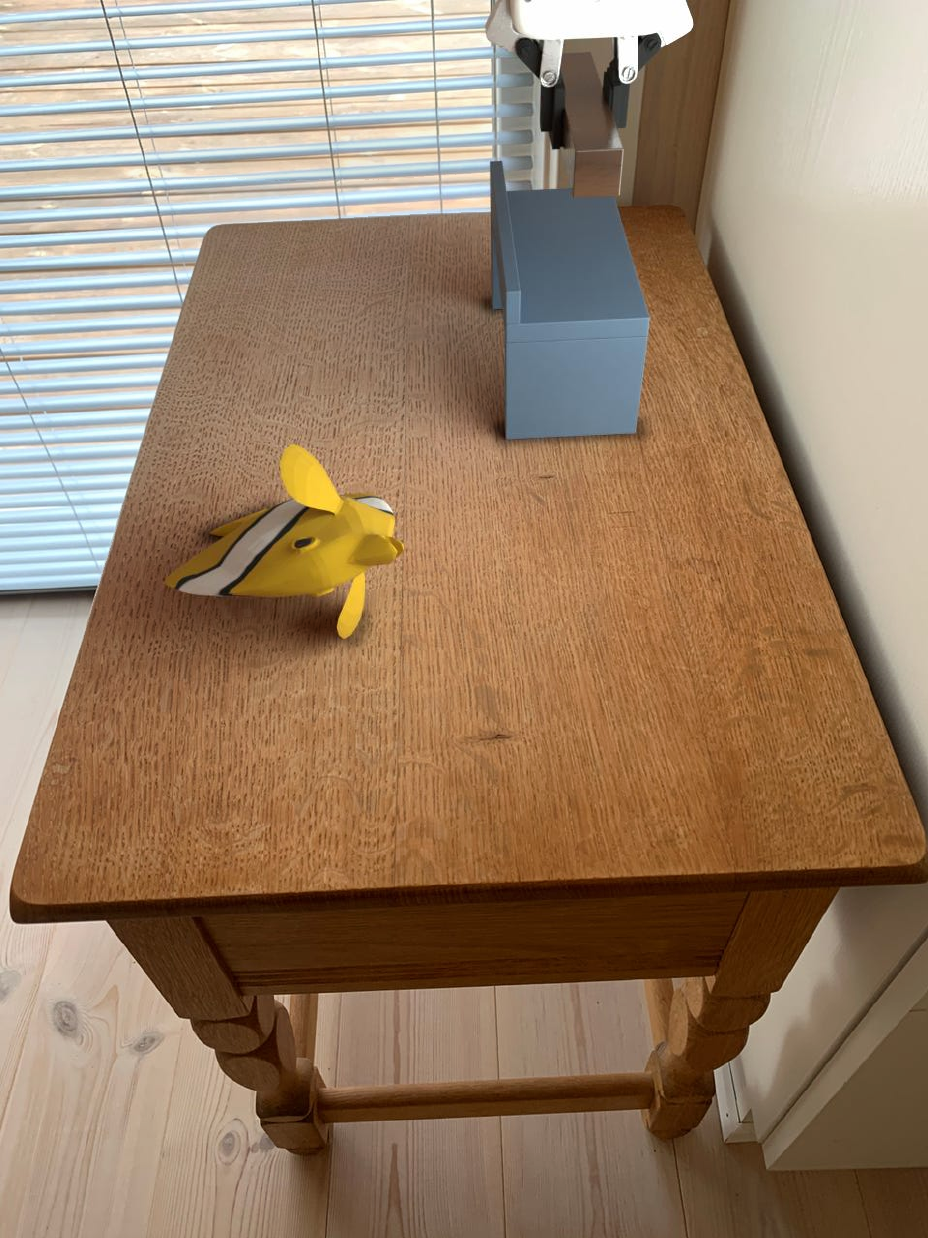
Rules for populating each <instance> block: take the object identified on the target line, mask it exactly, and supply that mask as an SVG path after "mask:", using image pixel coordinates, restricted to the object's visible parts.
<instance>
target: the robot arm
mask: <svg viewBox="0 0 928 1238" xmlns="http://www.w3.org/2000/svg"><path fill="white" fill-rule="evenodd" d="M486 20H487V21H486V23H485V25H484V31H485V36H486V39H487V41H489V42H490V43H492V44H493V45H495V46H497V47H499V48H500V49H503V50H505V51H507V52H508V53H511V54H513V55H515V56H517V58H518V59H519V60H520V61H521V62H522V63H523V64H524V65H525V66H526V67H527V69H529V70H530V71H531V73H532V74H533V75H534V76H535V77H536V78H537V79H538V80H539V82H540V98H539V102H540V103H539V129H540V132H541V133H548V136H549V142H550V146H551V150H553V151H554V150H555V151H556V150H561V147H562V141H563V118H564V108H565V94H566V91H565V85H564V82H563V78H562V73H561V69H560V62H561V54H562V52H563V47H564V46H563V45H564V40H578V39H579V40H580V39H599V38H600V39H601V38H602V39H603V38H612V60H610V62H609V64H608V65H609V66H607V67H606V71H604V72H603V82H602V86H603V90H604V93H605V95H606V98H607V101H608V104H609V107H610V110H611V113H612V116H613V119H614V122H615V124H616V127H617V130H618V131H619V129H626V128H627V122H628V121H627V120H628V112H629V111H628V110H629V100H630V89H631V83H633V82H634V81H635V80H636V79H637V77H638V73H639V72H640V71H641V69H643V68H644V66H646V65H647V64H648V62H650V61H651V60H652V58H653V57H654V56H655V55H656V54H657V53H658V52H659V51H660V49H662V48H663V47H665V46H668V45H670V44H672V43H673V42H674V41H676V40H678V39H680V38H681V37H683V36H685V35H686V34H688V33H689V32H690V31H692V28H693V26H694V21H693V17H692V15H691V12H690V9H689V6H688V3H687V1H686V0H496V1H495V3H494V5H493V7H492V10H491V11H490V14H489V16H488V18H487V19H486Z"/></svg>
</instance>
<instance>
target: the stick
mask: <svg viewBox="0 0 928 1238" xmlns="http://www.w3.org/2000/svg"><path fill="white" fill-rule="evenodd" d="M560 69H561V73H562V78H563V82H564V85H565V91H566V94H565V108H564V118H563V141H562V147H560V151H561V155H562V158H563V163H564V166H565V170H566V174H567V179H568V183H569V188H571V191H572V195H573V198H581V197H602V196H614V197H618V196H620V195H621V187H622V186H621V185H622V174H623V162H624V153H625V152H624V151H625V148H624V146H623V142H622V140H621V136H620V134H619V129H618V130H617V127H616V124H615V122H614V119H613V116H612V113H611V110H610V107H609V104H608V101H607V98H606V95H605V93H604V90H603V82H602V81H601V78H600V75H599V71H598V69H597V66H596V62H595V60H594V57H593V53H592V52H591V51H587V52H586V51H585V52H583V51H582V52H566V53H562V54H561V62H560Z"/></svg>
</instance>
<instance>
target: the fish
mask: <svg viewBox="0 0 928 1238" xmlns="http://www.w3.org/2000/svg"><path fill="white" fill-rule="evenodd" d="M279 468H280V477H281V480H282V483H283V485H284V487H285V490H286V492H287V494H288V495H289V496H290V497H291V498H290V499H288V500H285V501H283V502H280V503H278V504H275V505H272V506H270V507H268V508H265V509H261V510H258V511H256V512H253V513H251V514H248V515H246V516H243V517H241V518H238V519H236V520H233V521H230V522H228V523H226V524H223V525H221V526H218V527H216V528H215V529H213V530H211V531H210V532H209V533H208V534H209V535H212V536H219V537H222V538H220V539H218V540H217V541H215V542H214V543H211V544H210V545H209V546H208V547H206V548H205V549H204V550H202V551H200V552H199V553H198V554H196V555H195V556H193V557H192V558H191V559H189V560H188V561H187V562H185V563H184V564H182V565H181V566H180V567H178V568H176V569H175V570H174V571H173V572H171V573H170V574H169V575H168V576H167V577H166V578H165V581H164V584H165V585H166V586H167V587H169V588H171V589H173V590H176V591H180V592H182V593H187V594H191V595H192V594H193V595H198V596H199V595H200V596H211V597H213V596H214V597H256V598H268V599H269V598H270V599H274V598H284V597H293V596H302V595H303V596H304V595H306V596H307V595H308V597H310V598H318V597H321V596H324V595H327V594H329V593H331V592H334V591H335V588H336V587H338V586H341V585H343V584H345V583H348V582H350V581H352V580H353V581H352V583H351V586H350V589H349V592H348V594H347V597H346V600H345V602H344V605H343V608H342V610H341V612H340V614H339V617H338V620H337V625H336V629H337V633H338V636H340V638H342V639H343V640H345V639H347V638H348V637H350V636H351V635H352V634H353V632H354V631H355V629H356V628H357V627H358V625H359V622H360V620H361V618H362V614H363V610H364V605H365V598H366V597H365V595H366V594H365V593H366V575H365V571H367V570H368V569H370V568H372V567H375V566H383V565H390V564H392V563H393V562H394V561H395V560H396V558H398V557H400V556H401V555H403V553H404V550H405V546H404V543H403V542H401V541H400V540H399V539H397V538H395V537H393V535H394V530H395V529H394V528H395V523H396V518H395V514H394V512H393V510H392V508H391V507H390V505H389V504H388V503H387V502H386V501H385V500H384V499H383V498H381V497H380V496H378V495H376V494H373V493H370V492H369V493H367V492H359V493H357V492H355V493H348V494H340V495H339V493H338V492H337V490H336V488H335V486H334V484H333V482H332V480H331V478H330V477H329V476H328V474H327V472H326V470H325V468H324V467H323V466H322V465H321V463H320V462H319V460H318V459H317V458H316V457H315V456H314V455H313V454H312V453H311V452H309V450H307V449H306V448H304V447H303V446H301V445H299V444H292V443H291V444H290V445H288V446H287V447H286V448H285V449H283V452H282V455H281V458H280V461H279Z"/></svg>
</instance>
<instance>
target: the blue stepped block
mask: <svg viewBox="0 0 928 1238" xmlns="http://www.w3.org/2000/svg"><path fill="white" fill-rule="evenodd" d="M503 162H504V161H503V160H489V186H490V188H489V190H490V191H489V192H490V195H489V196H490V274H491V275H490V276H491V277H490V278H491V280H490V281H491V307H492V310H501V312H502V320H503V321H502V322H503V330H504V435H505V440H527V439H529V440H530V439H549V438H550V439H551V438H568V437H588V436H590V437H591V436H609V435H612V436H613V435H630V434H631V435H632V434H634V435H635V434H636V433H637V426H638V417H639V409H640V402H641V393H642V386H643V379H644V378H643V377H644V371H645V370H644V369H645V361H646V353H647V345H648V338H649V337H648V336H649V328H650V322H651V321H650V320H651V317H650V315H649V311H648V308H647V307H648V306H647V303H646V301H645V298H644V294H643V290H642V287H641V283H640V280H639V277H638V274H637V270H636V267H635V263H634V260H633V256H632V253H631V250H630V247H629V243H628V239H627V236H626V233H625V229H624V226H623V221H622V219H621V216H620V212H619V209H618V205H617V201H616V198H615V196H602V197H581V198H573V195H572V191H571V187H563V188H562V187H561V188H543V189H520V190H507V184H506V178H505V177H506V176H505V171H504V164H503Z"/></svg>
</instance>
